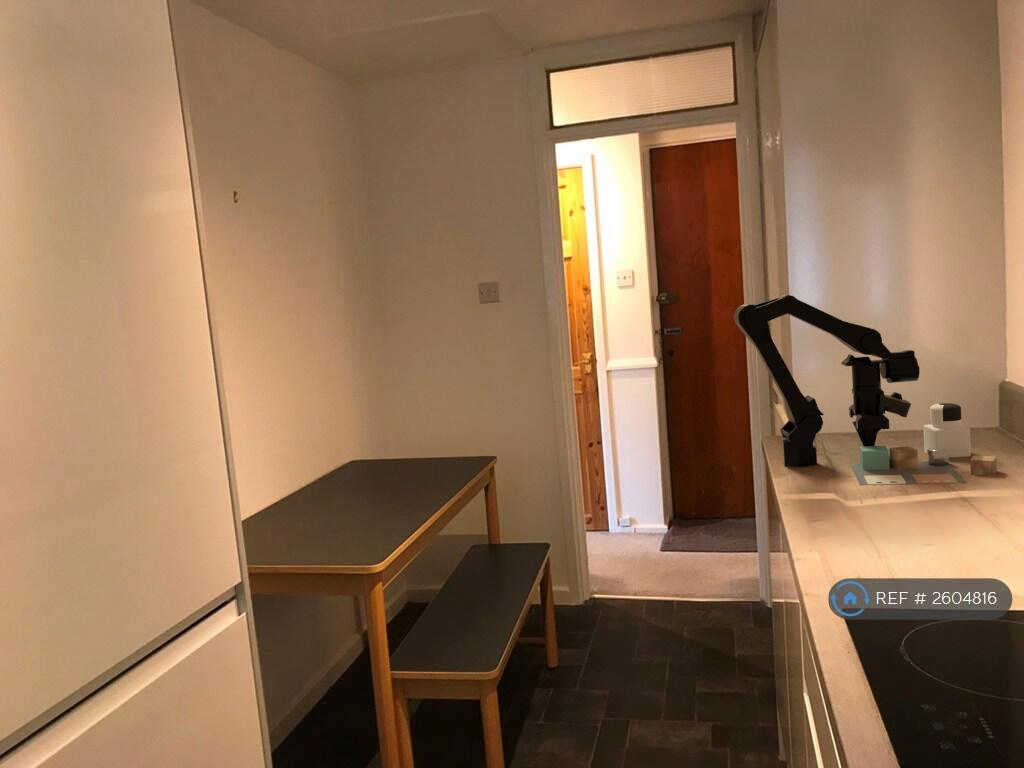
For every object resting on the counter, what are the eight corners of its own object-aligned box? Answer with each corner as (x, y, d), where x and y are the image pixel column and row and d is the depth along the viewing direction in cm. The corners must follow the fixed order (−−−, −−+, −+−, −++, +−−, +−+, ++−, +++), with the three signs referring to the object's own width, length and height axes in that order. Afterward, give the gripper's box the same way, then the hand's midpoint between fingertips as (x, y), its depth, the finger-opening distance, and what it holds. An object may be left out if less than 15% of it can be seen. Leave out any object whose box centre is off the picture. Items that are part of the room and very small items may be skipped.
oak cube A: (898, 470, 173) (898, 451, 172) (890, 466, 177) (889, 447, 176) (918, 468, 173) (917, 449, 172) (909, 464, 177) (908, 446, 176)
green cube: (863, 470, 176) (862, 451, 175) (860, 464, 180) (859, 446, 180) (889, 469, 174) (888, 450, 174) (885, 464, 179) (884, 445, 179)
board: (860, 490, 164) (859, 484, 164) (850, 469, 182) (850, 464, 181) (967, 488, 159) (967, 482, 159) (947, 466, 176) (947, 461, 176)
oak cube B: (970, 460, 164) (993, 460, 162) (973, 455, 168) (996, 456, 165) (970, 479, 165) (994, 481, 162) (973, 475, 168) (996, 476, 166)
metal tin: (929, 466, 174) (929, 452, 173) (925, 462, 178) (925, 448, 177) (950, 465, 173) (950, 451, 172) (946, 461, 176) (946, 447, 176)
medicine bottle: (957, 453, 186) (955, 400, 185) (971, 460, 179) (969, 405, 178) (923, 456, 187) (921, 403, 186) (936, 462, 180) (934, 407, 179)
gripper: (914, 388, 172) (917, 463, 173) (899, 377, 189) (902, 444, 191) (856, 391, 175) (859, 464, 177) (847, 380, 193) (850, 446, 194)
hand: (869, 454), depth 185 cm, fingers closed
